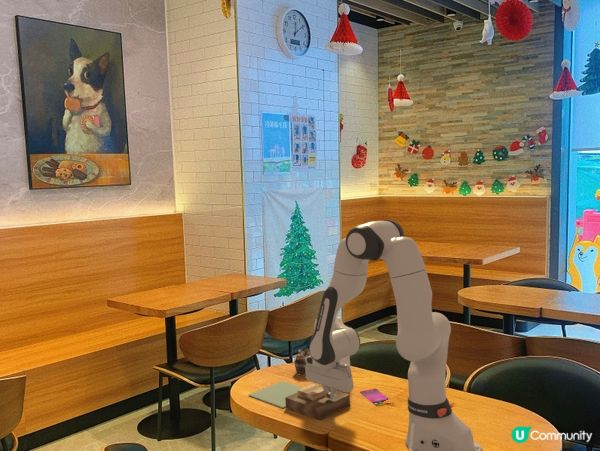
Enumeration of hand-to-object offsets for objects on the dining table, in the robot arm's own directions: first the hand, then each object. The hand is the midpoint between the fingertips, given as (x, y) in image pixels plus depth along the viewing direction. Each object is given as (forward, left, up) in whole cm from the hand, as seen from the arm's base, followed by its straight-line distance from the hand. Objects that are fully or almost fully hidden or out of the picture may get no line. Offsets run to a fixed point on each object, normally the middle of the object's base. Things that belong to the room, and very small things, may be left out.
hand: (330, 398), depth 199 cm
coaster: (+8, 0, -1) cm, 9 cm away
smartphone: (-5, -20, -5) cm, 21 cm away
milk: (+19, -24, -5) cm, 31 cm away
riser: (+6, 0, -5) cm, 8 cm away
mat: (+25, 0, -5) cm, 26 cm away
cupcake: (+36, -23, -5) cm, 43 cm away
